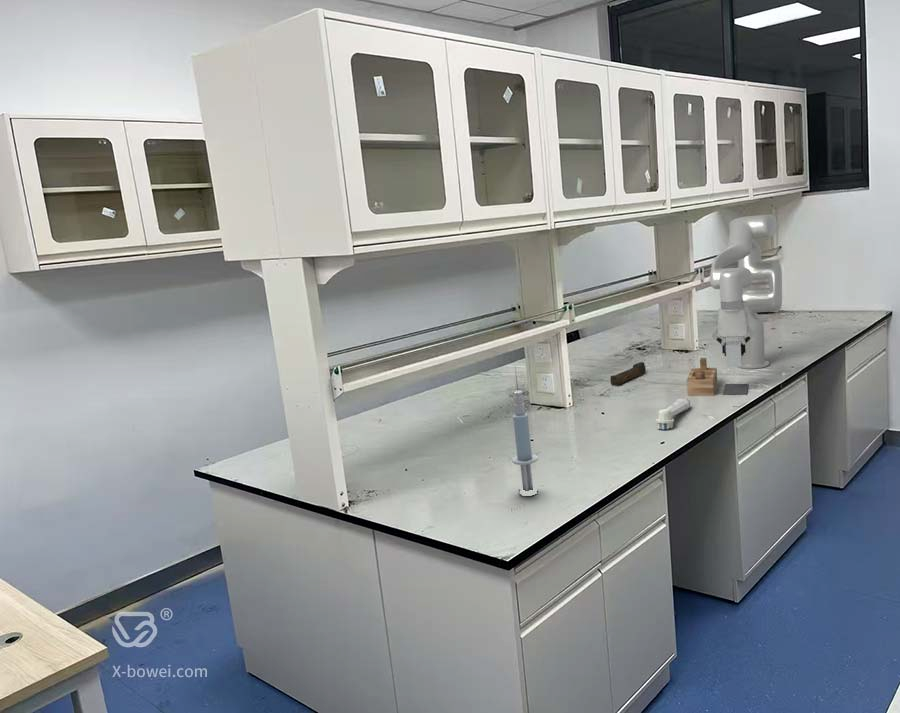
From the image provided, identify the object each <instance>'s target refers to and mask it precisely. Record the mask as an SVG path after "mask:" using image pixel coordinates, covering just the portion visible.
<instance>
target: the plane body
mask: <svg viewBox="0 0 900 713" xmlns="http://www.w3.org/2000/svg"><path fill="white" fill-rule="evenodd" d="M699 366H700V367H692V368H691V369H690V371H689V374H688V375H687V376H688V377H687V378H686V392H687V396H688V397H694V396H695V397H702V396H703V397H710V396H711V397H714V396H715V392H716V389H717V386H718V369H717V368H718V367H708V363H707V357H700V359H699Z"/></svg>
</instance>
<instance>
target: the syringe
mask: <svg viewBox="0 0 900 713" xmlns="http://www.w3.org/2000/svg"><path fill="white" fill-rule="evenodd" d="M514 371H515V373H517V368H516V367H514ZM515 382H516V390H515V391H514V392H513V395H514V397H513V399H514V404H513V406H514V414H513V415H512V418H513V419H512V420H513V427H514V428H513V429H514V439H515V446H516V455H515V456H513V457H512V459H511V461H512V463H513V464H514V465H517V466H520V473H521V483H522V487H523V490H525V491H529V490H533V486H534V485H533V484H534V483H533V475H532V474H533V473H532V466H531V464H534V463H536V462H538V460H539V458H538V456H537V455H536V454H532V445H531V435H530V427H529V426H530V424H529V415H528V413H526V410H525V403H524V396H523V391H521V390H519V384H518V377H517V374H515Z"/></svg>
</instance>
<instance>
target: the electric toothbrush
mask: <svg viewBox="0 0 900 713" xmlns="http://www.w3.org/2000/svg"><path fill="white" fill-rule="evenodd" d="M690 407H691V401H690V400H689V399H688V398H687V397H686V398H678V399H677V400H675V402H674V403H672V404H671V405H670V406H667V408H665V409H664V408H663V409H662V408H661V409H659V410H658V418H656V419H655V423H657V424H656V427H657V430H669V429H673V428H674V422H675V419H674V418H673V417H674V416H677V415H679V414H680V413H682V412H686V411H687V410H688V409H689V408H690Z"/></svg>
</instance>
